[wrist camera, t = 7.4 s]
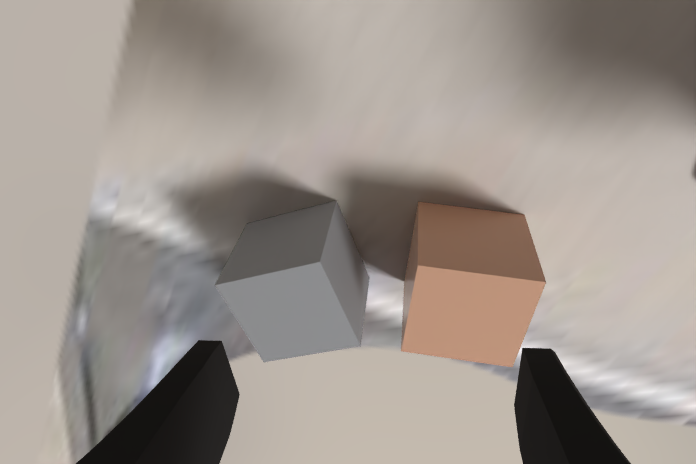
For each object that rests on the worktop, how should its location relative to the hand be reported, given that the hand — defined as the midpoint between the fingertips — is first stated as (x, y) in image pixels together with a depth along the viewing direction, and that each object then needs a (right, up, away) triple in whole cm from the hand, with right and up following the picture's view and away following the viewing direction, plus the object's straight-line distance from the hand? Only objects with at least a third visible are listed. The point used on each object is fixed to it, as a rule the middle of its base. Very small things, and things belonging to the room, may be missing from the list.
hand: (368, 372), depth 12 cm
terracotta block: (+5, +3, +10) cm, 12 cm away
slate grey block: (-2, +3, +11) cm, 12 cm away
